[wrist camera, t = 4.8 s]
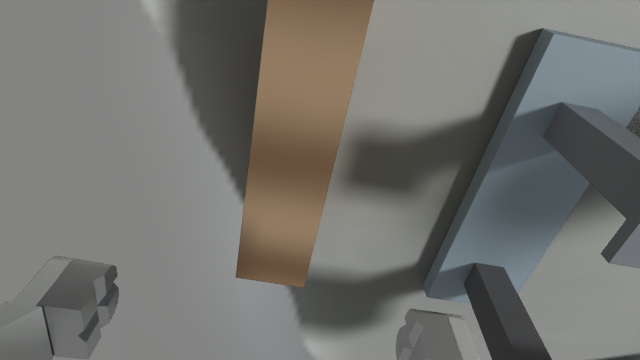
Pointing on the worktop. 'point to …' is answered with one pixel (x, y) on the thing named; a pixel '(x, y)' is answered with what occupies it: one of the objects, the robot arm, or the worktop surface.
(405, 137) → the worktop surface
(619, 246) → the stand
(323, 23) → the rail
